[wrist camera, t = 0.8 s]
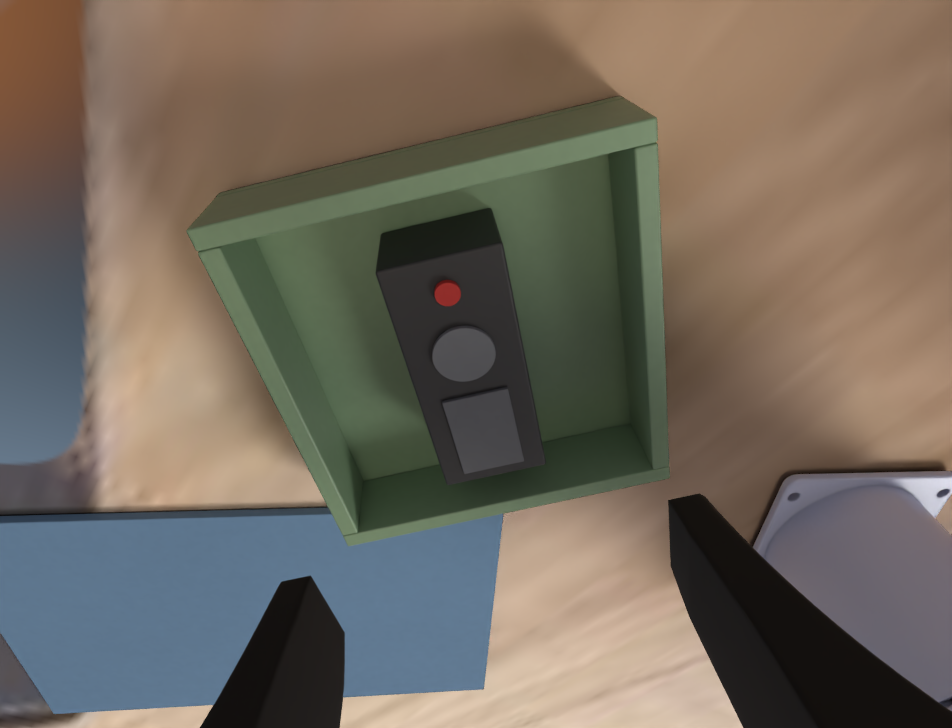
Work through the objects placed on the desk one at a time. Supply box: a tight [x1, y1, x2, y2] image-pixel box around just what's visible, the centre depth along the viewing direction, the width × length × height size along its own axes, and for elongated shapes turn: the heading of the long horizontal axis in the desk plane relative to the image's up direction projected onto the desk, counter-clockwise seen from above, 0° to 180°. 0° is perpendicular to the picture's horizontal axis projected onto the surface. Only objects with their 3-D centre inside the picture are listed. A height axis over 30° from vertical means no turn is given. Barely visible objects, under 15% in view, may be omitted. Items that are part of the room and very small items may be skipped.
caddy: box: [187, 96, 670, 546], centre depth 19 cm, size 12×12×3 cm
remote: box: [376, 208, 546, 485], centre depth 18 cm, size 8×3×3 cm, turn 12°
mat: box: [0, 508, 503, 714], centre depth 27 cm, size 14×22×1 cm, turn 87°
